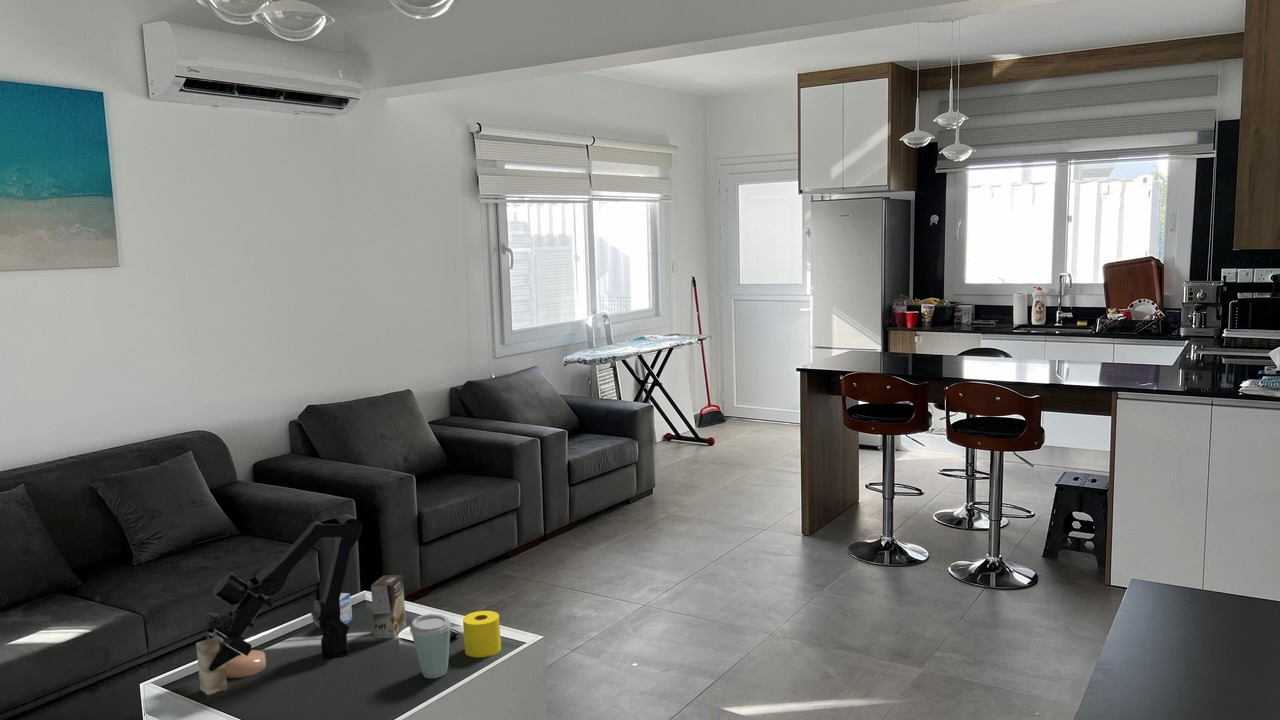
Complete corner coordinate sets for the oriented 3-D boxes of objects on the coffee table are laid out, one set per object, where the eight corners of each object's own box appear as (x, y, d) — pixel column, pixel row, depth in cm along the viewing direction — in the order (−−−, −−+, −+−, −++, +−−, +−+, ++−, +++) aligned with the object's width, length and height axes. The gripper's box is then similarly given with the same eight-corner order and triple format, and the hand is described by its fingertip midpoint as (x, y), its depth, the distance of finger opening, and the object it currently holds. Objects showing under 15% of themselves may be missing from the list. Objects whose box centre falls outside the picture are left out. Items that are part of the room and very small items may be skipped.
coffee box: (394, 638, 276) (390, 585, 274) (374, 638, 277) (369, 585, 275) (406, 626, 285) (402, 574, 283) (386, 625, 286) (382, 574, 284)
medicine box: (339, 630, 284) (337, 602, 283) (326, 629, 285) (324, 601, 284) (352, 620, 292) (350, 592, 291) (339, 619, 293) (337, 592, 292)
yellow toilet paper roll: (478, 640, 272) (476, 609, 271) (507, 645, 268) (505, 613, 267) (457, 654, 263) (455, 621, 262) (487, 659, 259) (485, 626, 258)
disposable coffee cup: (462, 667, 254) (458, 613, 253) (441, 685, 244) (437, 629, 243) (427, 663, 258) (423, 610, 256) (405, 680, 248) (401, 625, 246)
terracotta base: (268, 658, 266) (267, 647, 266) (263, 674, 256) (262, 663, 255) (226, 664, 263) (225, 653, 263) (219, 680, 253) (218, 670, 253)
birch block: (220, 683, 251) (215, 636, 249) (227, 689, 247) (223, 641, 246) (200, 690, 247) (195, 642, 246) (208, 696, 244) (203, 648, 242)
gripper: (207, 591, 254) (168, 644, 248) (235, 607, 241) (194, 663, 235) (239, 611, 261) (201, 662, 254) (268, 628, 247) (229, 682, 241)
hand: (206, 667), depth 246 cm, fingers closed on birch block, 5 cm apart
